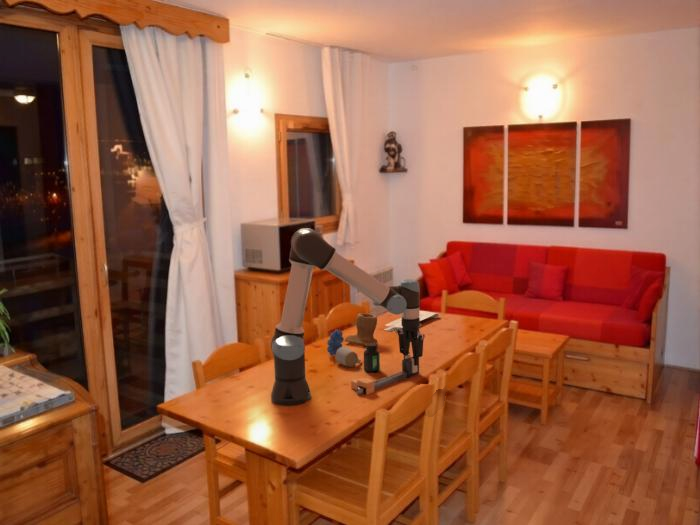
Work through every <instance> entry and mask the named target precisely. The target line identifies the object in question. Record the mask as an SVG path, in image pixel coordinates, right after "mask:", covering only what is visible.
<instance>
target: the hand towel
mask: <svg viewBox="0 0 700 525" xmlns="http://www.w3.org/2000/svg"><path fill="white" fill-rule="evenodd" d="M439 316H440V314H439V313H438V312H433V311H432V312H431V311H426V310H425V311H424V310H420V316H419V318H420V322H421V321H424V320H426V319H429V318H435V319H438V318H439ZM401 318H402V317H400V318H397V319H395V320H392V321H391V322H388V323H386V324H384V326H385V327H387V328H384V329H383V331H384V330H385V331H387V332H390V333H391V331H392V333H397V330H400V329H402V321H401ZM421 326H423V324H421V323H420V326H419V327H421ZM396 329H397V330H396ZM394 330H395V331H394ZM385 331H384V332H385Z"/></svg>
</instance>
